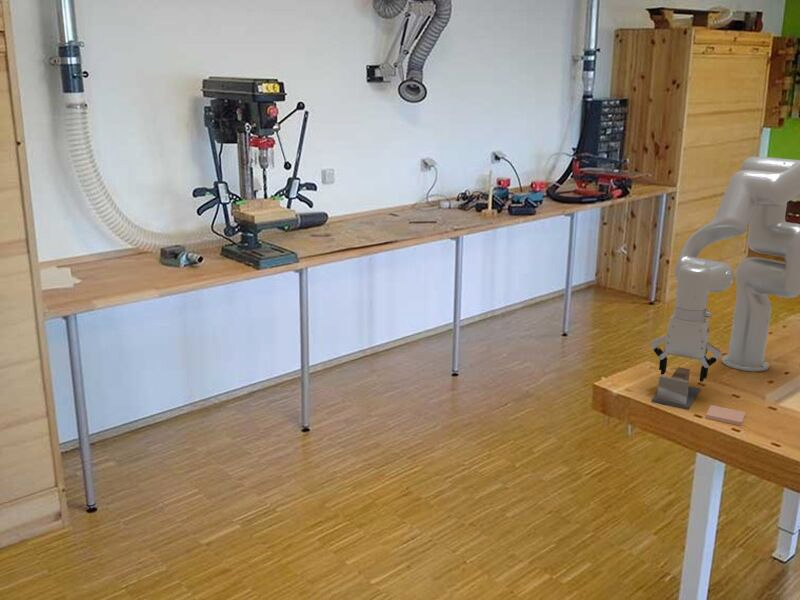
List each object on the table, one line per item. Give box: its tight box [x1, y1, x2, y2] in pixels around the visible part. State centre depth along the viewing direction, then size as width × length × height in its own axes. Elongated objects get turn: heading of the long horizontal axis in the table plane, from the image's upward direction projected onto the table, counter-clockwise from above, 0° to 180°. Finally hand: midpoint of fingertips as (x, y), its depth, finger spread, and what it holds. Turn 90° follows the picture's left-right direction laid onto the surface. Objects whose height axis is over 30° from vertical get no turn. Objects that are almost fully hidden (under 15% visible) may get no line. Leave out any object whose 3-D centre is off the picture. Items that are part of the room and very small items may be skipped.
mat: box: [651, 385, 701, 410], centre depth 202 cm, size 15×9×1 cm, turn 150°
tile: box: [705, 404, 746, 427], centre depth 190 cm, size 2×8×7 cm
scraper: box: [656, 366, 691, 405], centre depth 202 cm, size 13×7×6 cm, turn 150°
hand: (682, 376), depth 203 cm, fingers open, 9 cm apart
